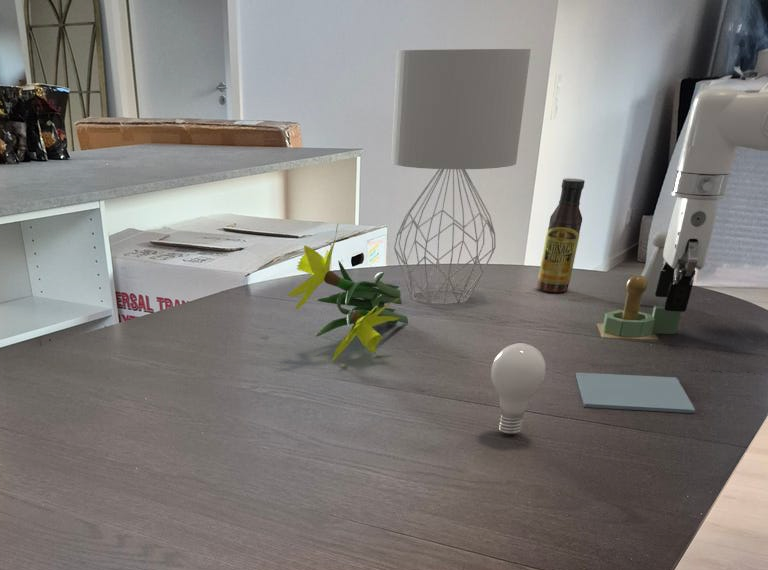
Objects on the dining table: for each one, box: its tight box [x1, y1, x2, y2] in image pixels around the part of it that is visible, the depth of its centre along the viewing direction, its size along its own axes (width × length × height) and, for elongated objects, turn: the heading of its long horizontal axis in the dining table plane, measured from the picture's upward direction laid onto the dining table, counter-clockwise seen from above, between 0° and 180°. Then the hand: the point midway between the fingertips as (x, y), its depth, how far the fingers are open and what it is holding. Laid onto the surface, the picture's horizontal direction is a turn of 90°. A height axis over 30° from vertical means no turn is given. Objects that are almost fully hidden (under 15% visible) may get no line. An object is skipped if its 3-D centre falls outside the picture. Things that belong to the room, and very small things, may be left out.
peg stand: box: [596, 274, 660, 341], centre depth 140 cm, size 9×9×10 cm
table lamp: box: [390, 48, 532, 305], centre depth 155 cm, size 22×22×40 cm
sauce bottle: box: [536, 177, 585, 294], centre depth 165 cm, size 6×6×20 cm
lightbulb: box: [490, 342, 547, 437], centre depth 102 cm, size 6×6×11 cm
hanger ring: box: [602, 305, 682, 337], centre depth 140 cm, size 11×8×4 cm, turn 79°
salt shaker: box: [640, 230, 668, 308], centre depth 155 cm, size 6×6×13 cm
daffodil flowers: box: [287, 224, 409, 362], centre depth 135 cm, size 17×15×35 cm
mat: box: [575, 372, 696, 414], centre depth 118 cm, size 14×14×1 cm
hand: (669, 303), depth 138 cm, fingers open, 9 cm apart
